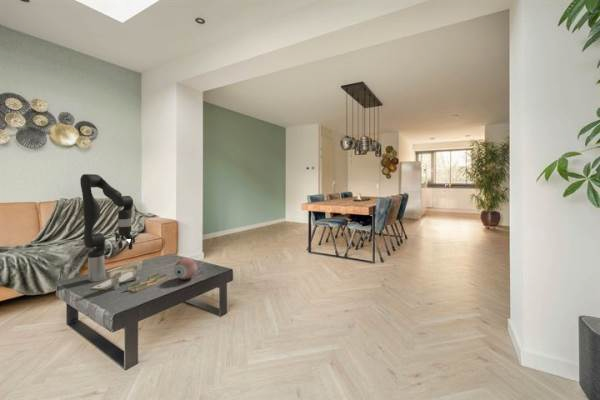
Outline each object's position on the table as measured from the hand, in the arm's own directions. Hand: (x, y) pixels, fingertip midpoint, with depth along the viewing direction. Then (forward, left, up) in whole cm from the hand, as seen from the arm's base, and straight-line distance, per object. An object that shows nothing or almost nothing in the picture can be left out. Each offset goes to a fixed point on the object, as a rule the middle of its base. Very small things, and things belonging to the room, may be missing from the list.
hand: (125, 248), depth 178 cm
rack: (+14, +4, -25) cm, 28 cm away
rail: (0, 0, -16) cm, 16 cm away
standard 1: (0, -8, -25) cm, 26 cm away
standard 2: (0, +8, -25) cm, 26 cm away
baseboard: (-11, +3, -25) cm, 28 cm away
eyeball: (+33, +19, -25) cm, 45 cm away
